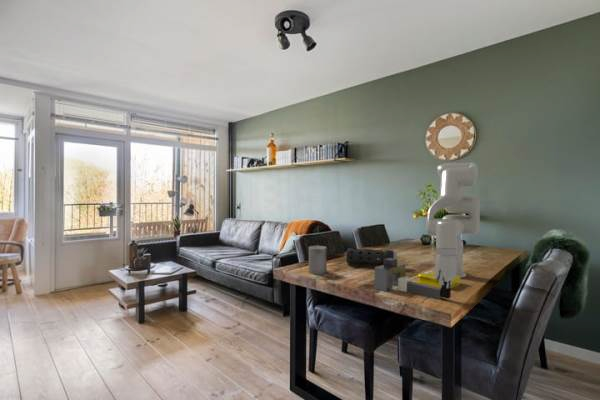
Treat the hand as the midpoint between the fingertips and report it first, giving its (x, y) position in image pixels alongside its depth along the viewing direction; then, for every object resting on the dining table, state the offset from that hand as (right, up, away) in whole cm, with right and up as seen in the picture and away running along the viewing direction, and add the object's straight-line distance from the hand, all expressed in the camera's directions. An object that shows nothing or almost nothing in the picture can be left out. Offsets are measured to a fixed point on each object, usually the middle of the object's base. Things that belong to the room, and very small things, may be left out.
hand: (445, 297), depth 123 cm
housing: (-17, -1, +18) cm, 25 cm away
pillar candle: (-49, 0, +43) cm, 65 cm away
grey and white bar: (-7, -1, +8) cm, 11 cm away
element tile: (+8, -1, +24) cm, 25 cm away
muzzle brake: (-17, 0, +57) cm, 59 cm away
